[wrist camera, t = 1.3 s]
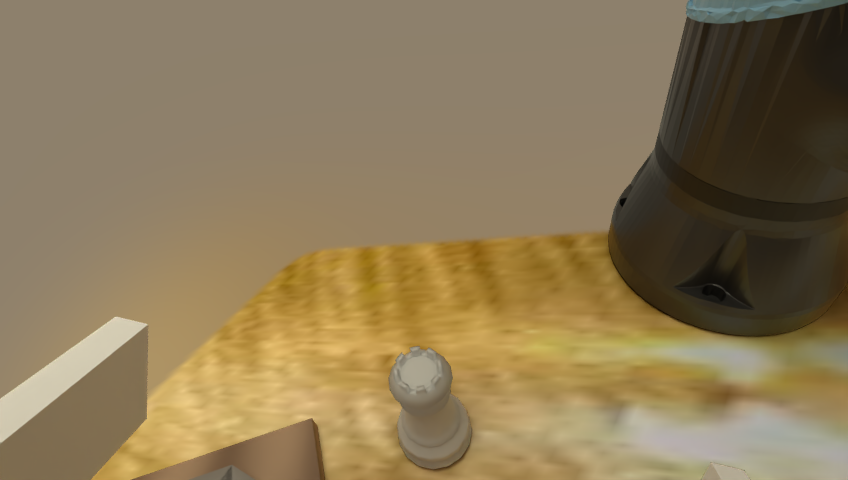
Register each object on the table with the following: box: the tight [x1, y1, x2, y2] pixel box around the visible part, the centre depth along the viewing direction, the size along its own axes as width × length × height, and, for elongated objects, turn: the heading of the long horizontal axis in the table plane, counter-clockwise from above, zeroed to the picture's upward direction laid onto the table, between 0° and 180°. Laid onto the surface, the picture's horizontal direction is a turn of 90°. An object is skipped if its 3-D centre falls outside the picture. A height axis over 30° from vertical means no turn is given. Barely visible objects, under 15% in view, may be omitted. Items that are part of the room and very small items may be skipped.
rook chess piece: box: [389, 346, 472, 469], centre depth 27 cm, size 4×4×8 cm
